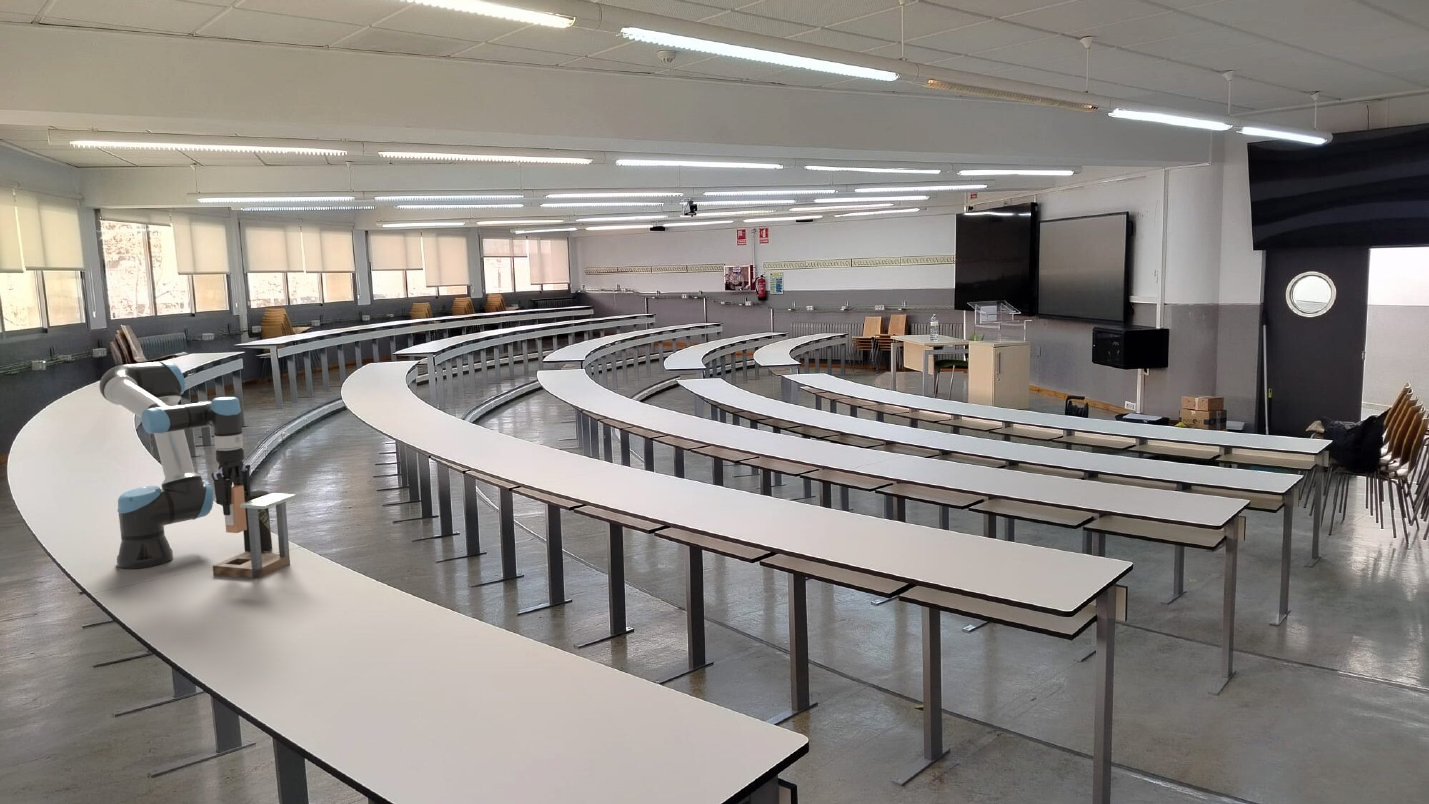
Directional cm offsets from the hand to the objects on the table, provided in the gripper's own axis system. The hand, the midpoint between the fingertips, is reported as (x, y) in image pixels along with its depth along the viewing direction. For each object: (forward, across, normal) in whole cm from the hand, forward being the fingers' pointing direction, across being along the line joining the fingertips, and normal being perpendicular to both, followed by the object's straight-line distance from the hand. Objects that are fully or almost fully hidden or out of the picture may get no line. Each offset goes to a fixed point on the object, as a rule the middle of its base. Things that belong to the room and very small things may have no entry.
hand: (235, 522), depth 273 cm
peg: (+3, 0, 0) cm, 3 cm away
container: (+16, +19, +9) cm, 26 cm away
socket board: (+16, +2, -3) cm, 16 cm away
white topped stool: (+16, +2, -10) cm, 19 cm away
